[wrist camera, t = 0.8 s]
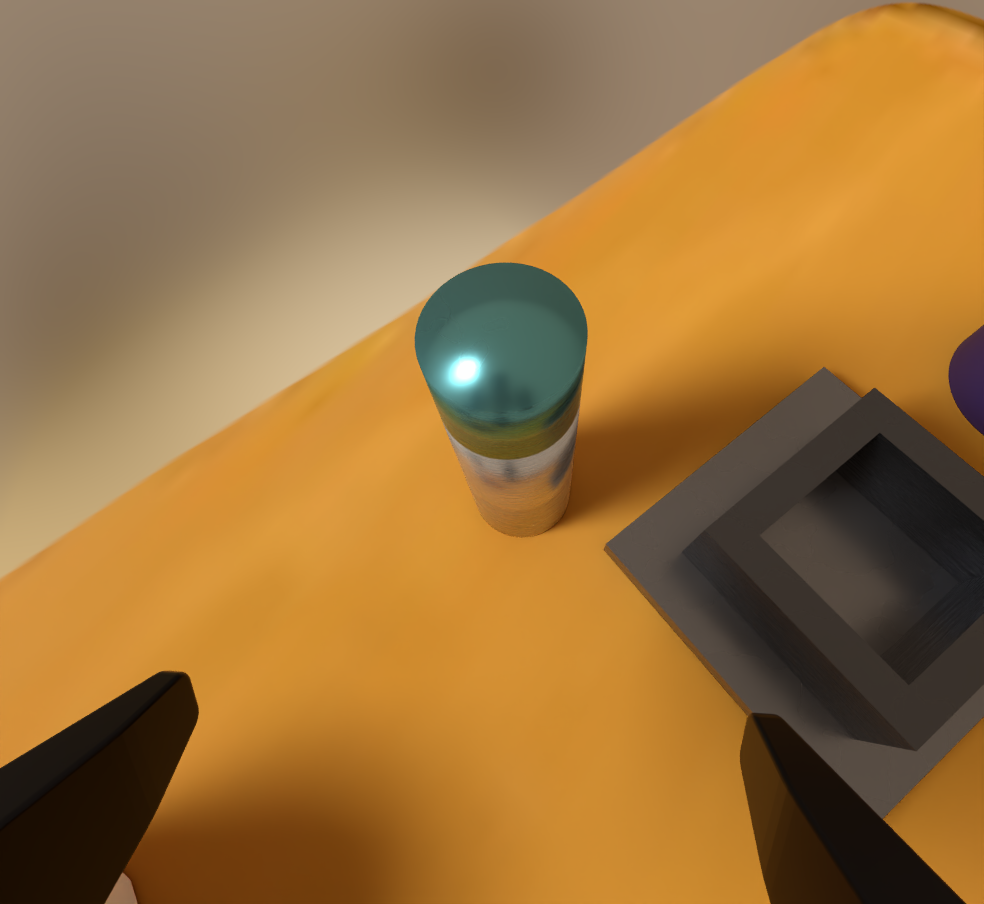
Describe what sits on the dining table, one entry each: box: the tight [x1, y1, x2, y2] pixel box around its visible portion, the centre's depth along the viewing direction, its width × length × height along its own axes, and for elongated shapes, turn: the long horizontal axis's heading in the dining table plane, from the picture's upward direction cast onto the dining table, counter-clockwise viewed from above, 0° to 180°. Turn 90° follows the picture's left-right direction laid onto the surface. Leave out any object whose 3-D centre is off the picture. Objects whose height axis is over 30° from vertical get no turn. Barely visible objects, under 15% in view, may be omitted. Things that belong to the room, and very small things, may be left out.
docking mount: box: [604, 367, 984, 819], centre depth 20 cm, size 12×12×4 cm
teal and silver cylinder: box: [415, 263, 587, 537], centre depth 19 cm, size 4×4×12 cm
